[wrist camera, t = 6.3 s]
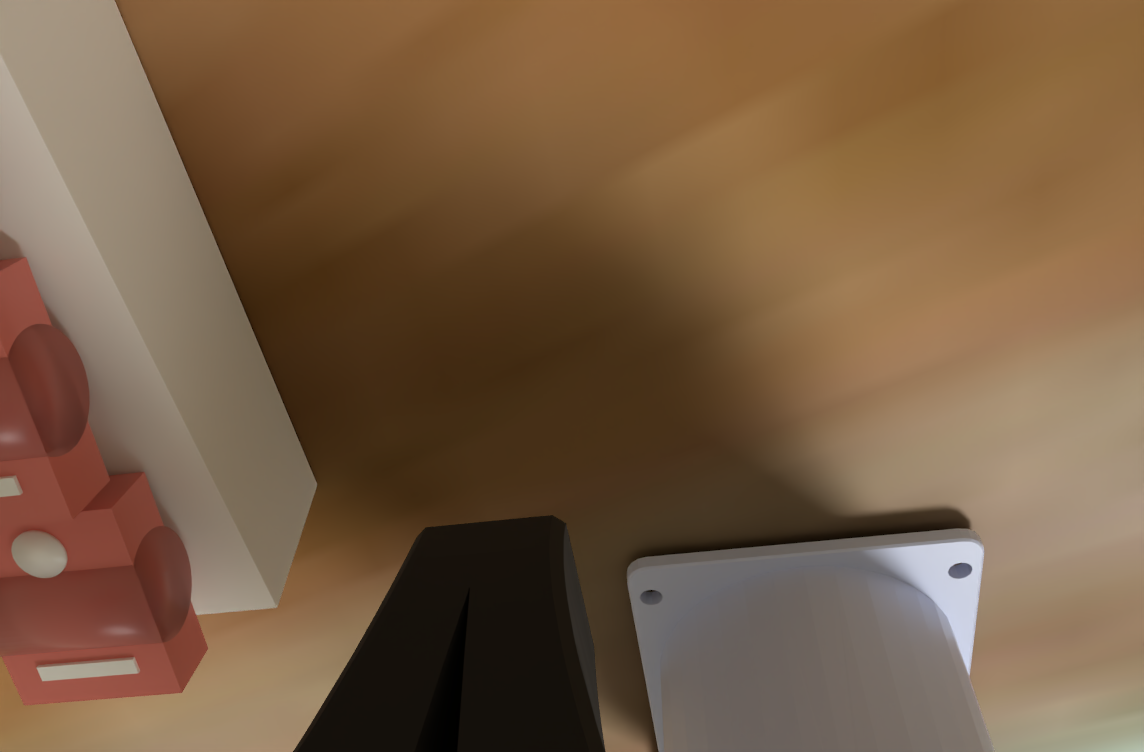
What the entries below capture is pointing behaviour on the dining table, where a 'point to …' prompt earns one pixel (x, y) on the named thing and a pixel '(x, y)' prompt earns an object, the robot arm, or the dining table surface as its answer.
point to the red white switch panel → (145, 299)
